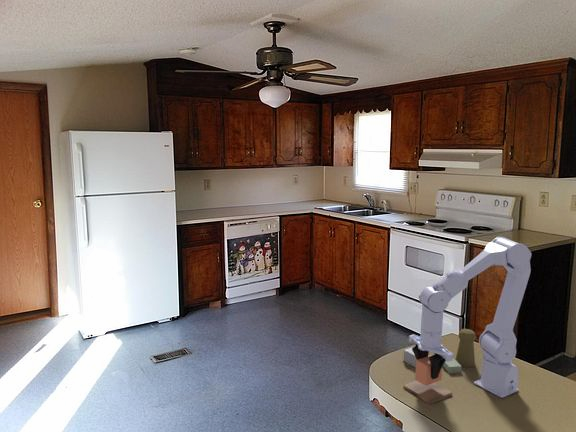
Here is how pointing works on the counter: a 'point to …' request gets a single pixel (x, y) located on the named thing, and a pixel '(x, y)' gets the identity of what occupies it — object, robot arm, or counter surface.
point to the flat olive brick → (452, 366)
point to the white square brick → (410, 357)
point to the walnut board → (428, 391)
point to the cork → (466, 348)
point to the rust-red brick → (425, 372)
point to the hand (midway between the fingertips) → (428, 374)
